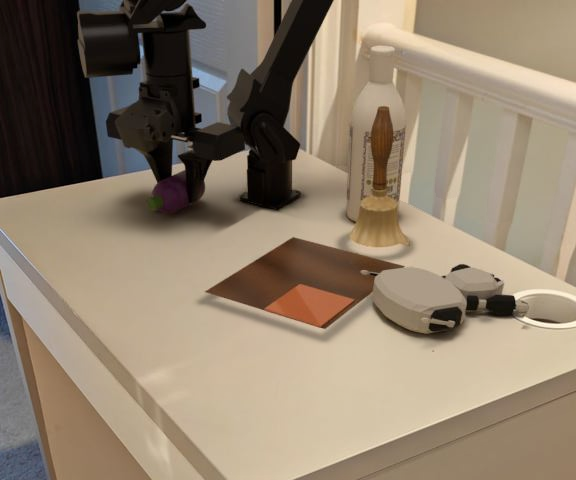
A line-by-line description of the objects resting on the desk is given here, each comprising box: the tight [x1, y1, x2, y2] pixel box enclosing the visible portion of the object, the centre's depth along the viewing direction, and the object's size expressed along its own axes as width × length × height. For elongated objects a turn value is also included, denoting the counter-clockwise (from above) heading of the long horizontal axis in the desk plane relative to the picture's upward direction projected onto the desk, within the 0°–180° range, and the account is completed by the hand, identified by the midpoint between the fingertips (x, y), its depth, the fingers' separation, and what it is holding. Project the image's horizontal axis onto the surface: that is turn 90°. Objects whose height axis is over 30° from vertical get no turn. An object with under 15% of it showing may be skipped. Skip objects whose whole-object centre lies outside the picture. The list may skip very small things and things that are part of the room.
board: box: [204, 236, 405, 330], centre depth 94 cm, size 18×16×1 cm
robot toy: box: [360, 263, 530, 335], centre depth 88 cm, size 12×4×15 cm
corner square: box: [264, 284, 355, 328], centre depth 88 cm, size 7×7×1 cm
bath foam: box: [345, 45, 407, 223], centre depth 104 cm, size 7×7×20 cm
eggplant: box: [146, 169, 206, 214], centre depth 110 cm, size 10×4×4 cm, turn 147°
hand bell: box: [348, 106, 410, 248], centre depth 98 cm, size 8×8×16 cm
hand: (179, 199), depth 111 cm, fingers closed on eggplant, 4 cm apart
